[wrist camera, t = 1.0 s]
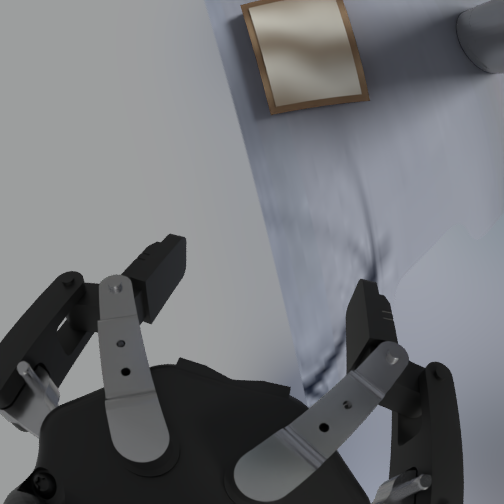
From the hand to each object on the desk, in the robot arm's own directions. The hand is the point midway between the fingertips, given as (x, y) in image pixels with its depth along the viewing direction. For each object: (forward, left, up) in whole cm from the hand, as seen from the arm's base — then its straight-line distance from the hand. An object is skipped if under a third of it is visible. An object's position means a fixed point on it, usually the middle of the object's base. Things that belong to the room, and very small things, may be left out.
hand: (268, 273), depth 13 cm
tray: (-11, -8, -25) cm, 28 cm away
